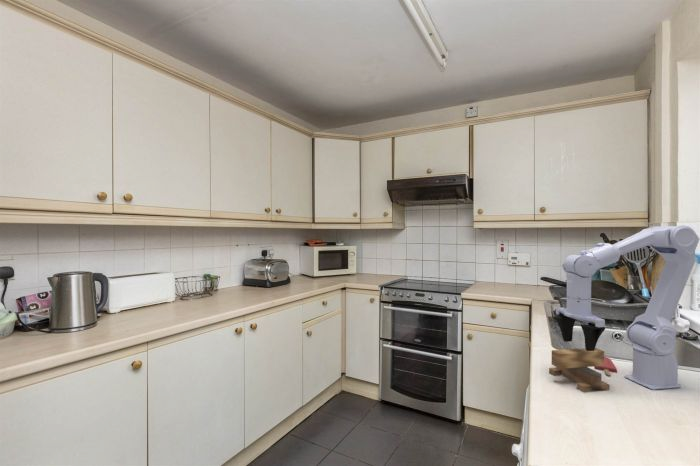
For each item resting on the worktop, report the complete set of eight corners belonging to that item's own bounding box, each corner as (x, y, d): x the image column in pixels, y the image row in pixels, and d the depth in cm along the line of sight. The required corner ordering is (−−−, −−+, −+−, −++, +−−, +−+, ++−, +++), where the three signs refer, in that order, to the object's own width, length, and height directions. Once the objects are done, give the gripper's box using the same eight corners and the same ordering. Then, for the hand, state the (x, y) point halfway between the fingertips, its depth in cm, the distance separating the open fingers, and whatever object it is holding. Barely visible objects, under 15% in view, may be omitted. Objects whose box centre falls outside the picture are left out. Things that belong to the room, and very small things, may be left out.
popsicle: (597, 370, 99) (590, 354, 112) (597, 375, 99) (590, 358, 112) (620, 374, 96) (610, 356, 109) (620, 379, 96) (610, 361, 109)
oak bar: (594, 361, 97) (594, 347, 97) (604, 365, 94) (604, 351, 94) (551, 364, 95) (551, 350, 95) (559, 368, 92) (559, 354, 92)
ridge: (572, 371, 101) (572, 356, 101) (609, 389, 89) (609, 373, 89) (549, 372, 100) (549, 357, 100) (583, 392, 88) (583, 375, 88)
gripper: (547, 293, 101) (546, 338, 101) (588, 303, 87) (588, 356, 87) (567, 292, 102) (567, 336, 102) (612, 302, 88) (611, 354, 88)
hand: (578, 345), depth 95 cm, fingers open, 7 cm apart
